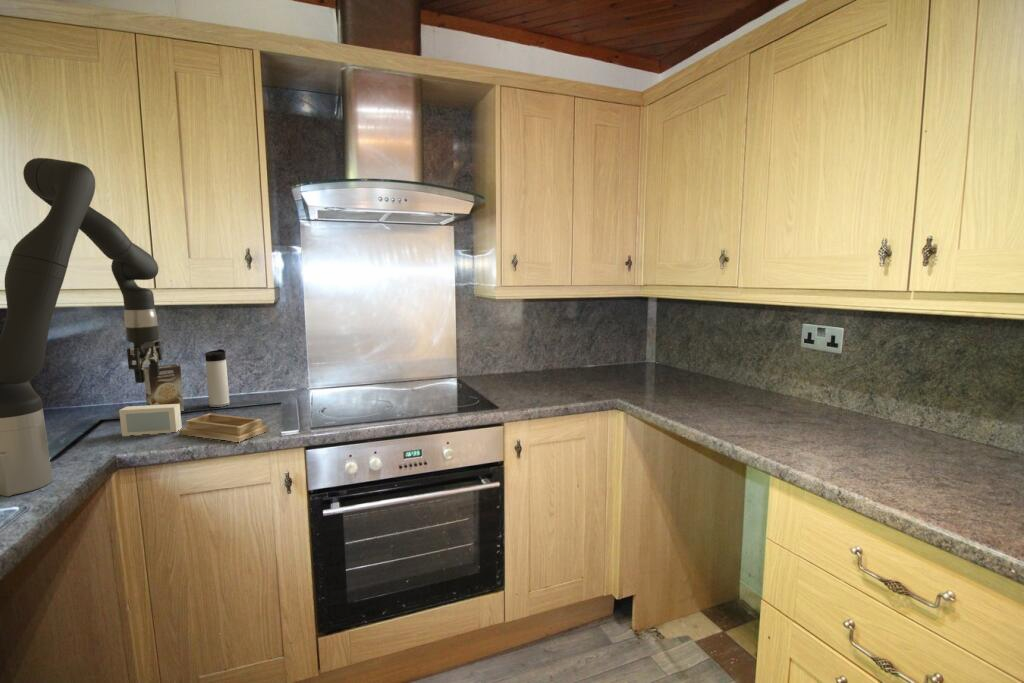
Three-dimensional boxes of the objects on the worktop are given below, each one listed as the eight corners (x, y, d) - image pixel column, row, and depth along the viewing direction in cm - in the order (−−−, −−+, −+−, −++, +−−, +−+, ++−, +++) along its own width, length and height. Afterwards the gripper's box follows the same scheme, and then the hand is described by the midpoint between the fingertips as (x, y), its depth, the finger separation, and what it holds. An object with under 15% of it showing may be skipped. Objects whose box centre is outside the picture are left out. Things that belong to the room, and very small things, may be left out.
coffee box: (153, 417, 160) (148, 370, 158) (147, 414, 164) (142, 367, 162) (185, 411, 167) (180, 365, 165) (178, 408, 171) (174, 363, 169)
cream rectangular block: (176, 433, 146) (173, 407, 145) (122, 436, 143) (119, 410, 142) (182, 428, 150) (179, 403, 149) (129, 432, 147) (126, 406, 145)
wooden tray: (239, 443, 138) (238, 429, 137) (179, 435, 144) (178, 422, 143) (268, 431, 148) (267, 418, 148) (212, 424, 154) (211, 411, 154)
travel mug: (234, 403, 178) (229, 349, 175) (221, 408, 172) (217, 352, 169) (218, 402, 179) (213, 348, 176) (205, 407, 172) (200, 351, 169)
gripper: (144, 327, 135) (150, 384, 138) (167, 321, 149) (173, 373, 152) (113, 328, 134) (120, 385, 136) (139, 322, 148) (145, 374, 150)
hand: (148, 379), depth 144 cm, fingers open, 8 cm apart
